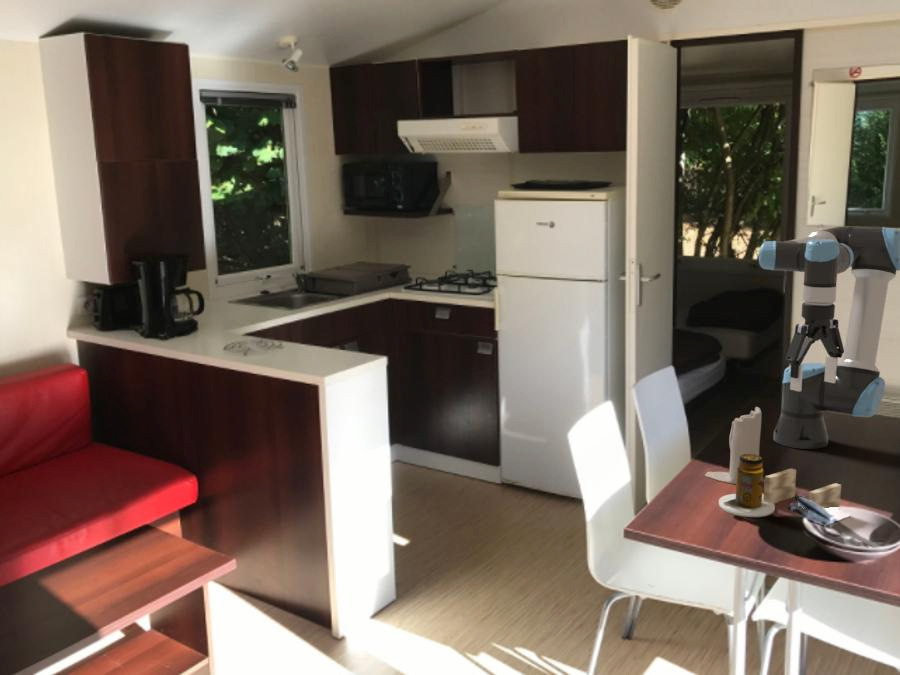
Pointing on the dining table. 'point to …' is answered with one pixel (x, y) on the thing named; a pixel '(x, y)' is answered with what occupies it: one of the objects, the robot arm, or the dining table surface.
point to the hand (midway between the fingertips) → (813, 386)
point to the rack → (784, 488)
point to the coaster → (755, 513)
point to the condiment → (748, 484)
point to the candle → (741, 444)
